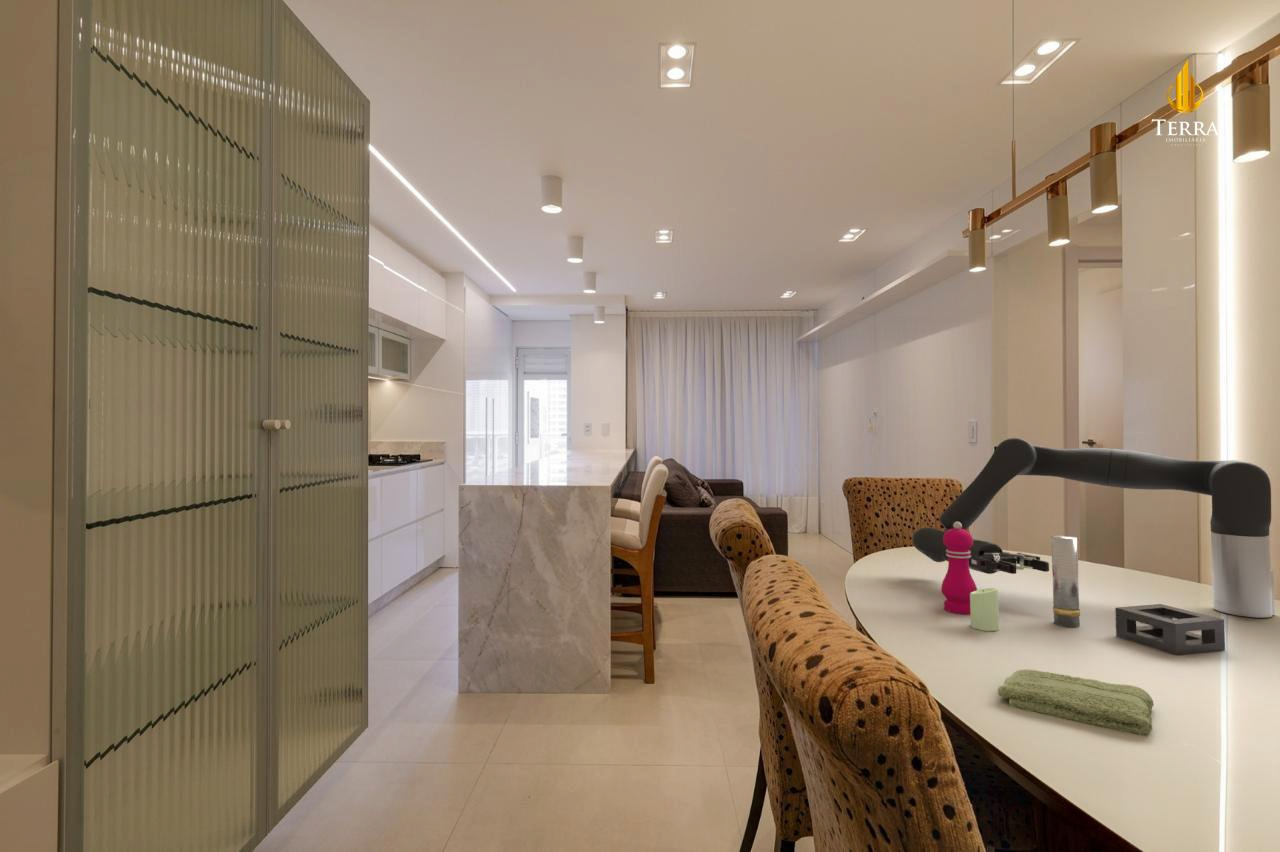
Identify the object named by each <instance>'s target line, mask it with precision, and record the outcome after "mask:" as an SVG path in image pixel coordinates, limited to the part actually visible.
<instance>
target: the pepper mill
mask: <svg viewBox="0 0 1280 852" xmlns="http://www.w3.org/2000/svg"><path fill="white" fill-rule="evenodd" d="M953 527H954V529H950V530H948V531H946V532H945V531H944V532H945V534H944V536H943V542H944V544H945V545H946V547H947V548H948V549H947V550H946V553H947V554H946V556H948V561H949V562H948V561H947V562H948V565H947V570H946V571H947V572H946V573H945V576H944V578H943V580H942V583H941V590H940V591H941V594H942V595H943V597H944V598H945V600H944V601H943V608H944V610H945V611H947V612H948V611H949V612H948V613H953V614H957V615H971V613H970V593H971V592H974V591H977V590H978V588H977V584H976V582H975V581H974V578H973V577H972V574H971V570H970V569H969V558H970V557H971V555H970V553H971V552H970V551H969V549H970V548H971V547H972V545H973V539H974V538H973V536H972V534H971V533H970V532H969V531H967V530H964V529H961V528H962V524H961V523H960V522H955V523H954V524H953Z"/></svg>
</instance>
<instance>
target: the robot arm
mask: <svg viewBox="0 0 1280 852" xmlns="http://www.w3.org/2000/svg"><path fill="white" fill-rule="evenodd" d="M1017 476H1038V477H1039V476H1040V477H1054V478H1062V479H1068V480H1071V481H1076V482H1081V483H1085V484H1086V483H1087V484H1093V485H1099V486H1105V487H1106V486H1107V487H1111V488H1121V489H1130V490H1154V491H1155V490H1159V491H1160V490H1172V491H1173V490H1175V491H1184V492H1189V493H1195V494H1200V495H1205V496H1211V509H1212V510H1211V517H1210V522H1209V523H1210V544H1211V545H1210V547H1211V548H1210V549H1211V572H1212V573H1211V574H1212V576H1211V577H1212V600H1213V601H1212V604H1213V607H1212V608H1213V609H1214V610H1216V611H1218V612H1221V613H1224V614H1229V615H1233V616H1239V617H1247V618H1262V619H1263V618H1264V619H1265V618H1272V617H1273V615H1275V614H1276V610H1275V606H1276V605H1275V585H1274V584H1275V582H1274V581H1275V580H1274V570H1272V567H1271V547H1270V545H1271V544H1270V527H1271V522H1272V487H1271V480H1270V477H1269V475H1268V473H1267V472H1266V471H1265V470H1264V469H1263V468H1262V467H1260V466H1259V465H1257V464H1255V463H1252V462H1249V461H1248V462H1247V461H1244V460H1243V461H1242V460H1237V459H1236V460H1235V459H1233V460H1231V459H1229V460H1198V459H1195V460H1194V459H1183V458H1182V459H1181V458H1176V457H1175V458H1174V457H1170V456H1164V455H1161V454H1157V453H1156V454H1155V453H1150V452H1149V453H1148V452H1142V451H1136V450H1129V449H1121V448H1110V447H1107V448H1106V447H1105V448H1104V447H1084V448H1081V447H1080V448H1053V447H1046V446H1040V445H1035V444H1031V443H1030V442H1029V441H1027V440H1025V439H1023V438H1020V437H1010V438H1007V439H1005V440H1003V441H1001V442H1000V443H999V444H998V445H997V447H996V448H995V450H994V452H993V453H992V455H991V456H990V458H989V460H988V461H987V463H986V464H985V466H984V467H983V468H982V470H981V471H980V472H979V474H978V475H977V476H976V477H975V478H974V480H972V481H971V483H970V484H969V485H968V486H967V487H966V488H965V489H964V490H963V491H962V492H961V493H960V494H959V495H958V496H957V497H956V498H955V500H954V501H952V502H951V503H950V505H949V506H948V507H947V508H946V509H945V510H944V511H943V512H942V514H941V515H940V516H939V522H940V523H941V525H942V526H943V527H944V531H941V530H939V529H936V528H933V527H928V526H927V527H921V528H918V529H917V530H915V532H914V533H913V536H912V539H911V540H912V544H913V546H914V548H915V549H916V550H917V551H918V552H920V553H921V554H923V555H925V556H926V557H927V558H929V559H930V560H931V561H933V562H936V563H943V562H948V563H949V561H948V556H946V554H947V553H946V550H947V549H948V548H947V547H946V545H945V544H944V542H943V536H944V534H945V532H946V531H948V530H950V529H954V527H953V524H954V523H955V522H960V523H961V524H962V528H961V529H964V530H966V531H967V530H968V529H969V528H970V527H971V526H972V525H973V523H975V522H976V521H977V519H978V518H979V517H980V516H981V514H982V513H983V512H984V511H985V510H986V509H987V507H988V506H989V504H990V503H991V501H992V500H993V499H994V498H995V496H996V495H997V494H998V493H999V492H1000V491H1001V490H1002V488H1004V487H1005V485H1007V484H1008V483H1009V482H1010V481H1012V480H1013V479H1014V478H1015V477H1017ZM969 551H970V552H971V553H970V555H971V557H970V558H969V570H973V571H976V572H980V573H984V574H986V575H987V574H988V575H992V574H995V573H998V572H1003V573H1007V574H1011V575H1016V574H1017V570H1020V571H1023V570H1024V569H1031V570H1037V571H1041V572H1044V573H1047V572H1049V571H1050V563H1049V562H1048V561H1044V560H1041V556H1036V555H1031V554H1027V553H1021V552H1018V553H1012V552H1009V551H1003V550H1002V548H1001V547H1000V546H999V545H998V544H996V543H993V542H990V541H985V540H982V539H981V540H979V539H974V538H973V545H972V547H971V548H970V549H969ZM1018 565H1019V566H1018Z"/></svg>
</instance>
